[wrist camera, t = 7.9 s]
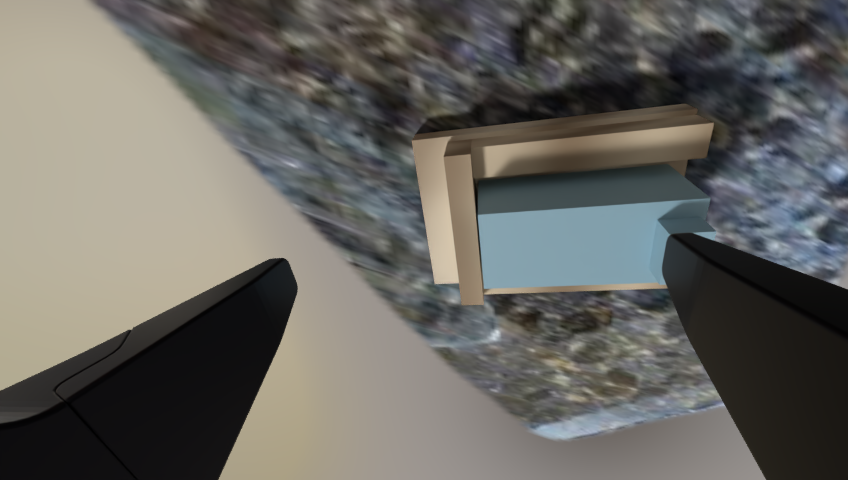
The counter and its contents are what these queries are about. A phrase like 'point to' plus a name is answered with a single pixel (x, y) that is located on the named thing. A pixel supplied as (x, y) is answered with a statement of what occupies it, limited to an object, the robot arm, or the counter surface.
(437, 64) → the counter surface
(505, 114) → the counter surface
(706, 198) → the blue stepped block
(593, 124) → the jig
